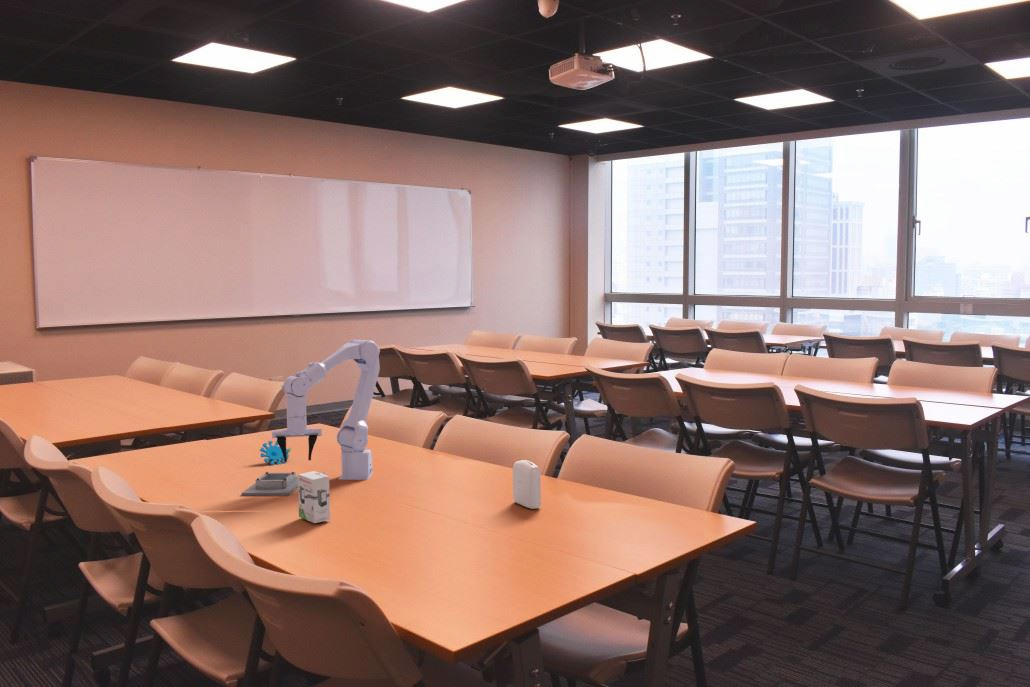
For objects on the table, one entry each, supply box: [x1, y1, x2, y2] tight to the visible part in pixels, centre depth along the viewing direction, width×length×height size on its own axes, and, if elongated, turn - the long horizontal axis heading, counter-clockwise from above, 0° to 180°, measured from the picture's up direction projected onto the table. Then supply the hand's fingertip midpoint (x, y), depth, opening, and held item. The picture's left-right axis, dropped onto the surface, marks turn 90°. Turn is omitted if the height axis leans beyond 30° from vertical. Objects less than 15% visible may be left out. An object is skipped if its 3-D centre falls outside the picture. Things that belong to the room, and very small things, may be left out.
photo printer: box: [512, 459, 542, 510], centre depth 228 cm, size 10×4×12 cm, turn 29°
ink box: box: [297, 470, 331, 524], centre depth 217 cm, size 9×5×12 cm, turn 44°
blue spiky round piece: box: [259, 440, 292, 466], centre depth 283 cm, size 11×6×10 cm
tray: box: [241, 471, 298, 497], centre depth 251 cm, size 14×20×4 cm
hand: (297, 460), depth 249 cm, fingers open, 6 cm apart
